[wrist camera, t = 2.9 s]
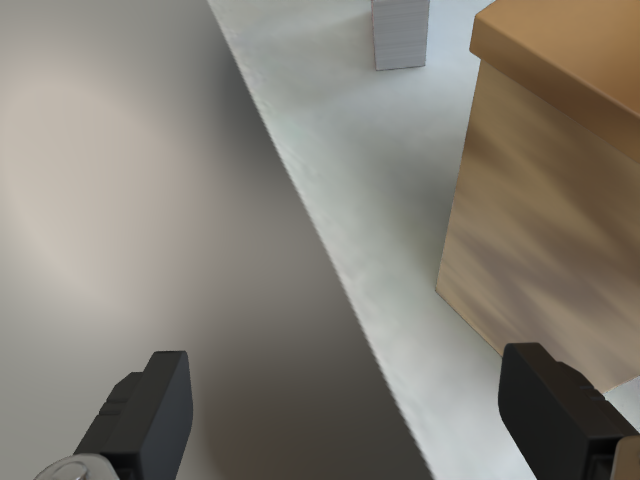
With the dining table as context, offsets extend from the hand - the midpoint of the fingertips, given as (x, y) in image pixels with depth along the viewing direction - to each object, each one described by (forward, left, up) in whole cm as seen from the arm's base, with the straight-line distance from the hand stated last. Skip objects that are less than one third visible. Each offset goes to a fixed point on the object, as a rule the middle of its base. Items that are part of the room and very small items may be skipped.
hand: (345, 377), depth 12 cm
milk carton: (-29, -8, -15) cm, 34 cm away
